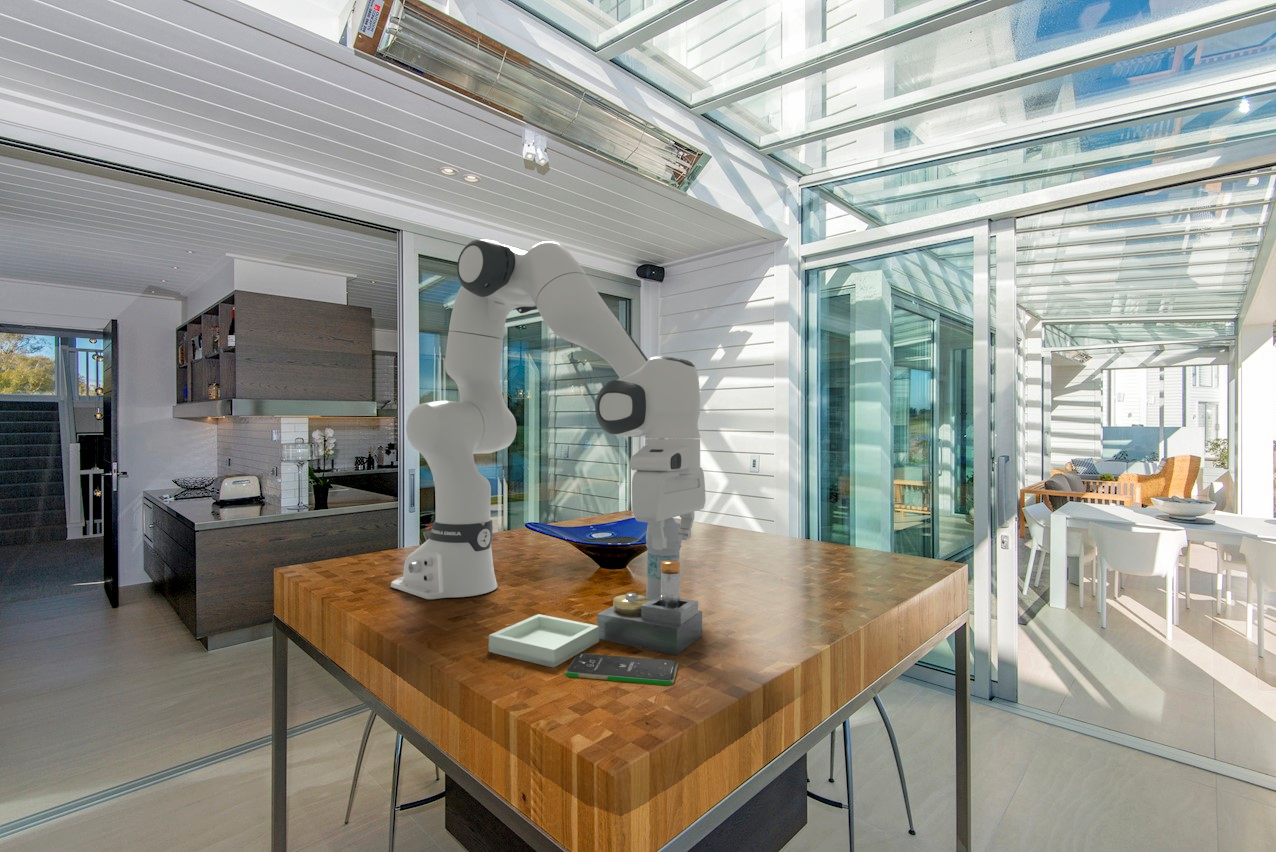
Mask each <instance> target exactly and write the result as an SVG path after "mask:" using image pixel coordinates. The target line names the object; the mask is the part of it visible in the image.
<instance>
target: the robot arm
mask: <svg viewBox="0 0 1276 852" xmlns="http://www.w3.org/2000/svg"><path fill="white" fill-rule="evenodd" d="M456 269H457V277H458V280H459V283H460V285H461V286H460V288H459V289H458V291H457V294H456V297H455V300H454V303H453V307H452V311H451V314H450V320H449V328H448V334H447V341H446V351H445V359H444V369H445V373H446V374H447V375H448V377H449V378H451V379H452V380H453V381H454V382H455V383H456V386H457V389H458V395H459V401H455V400H441V399H440V400H435V401H428V402H424V403H420V404H417V405H415V406H414V408H413V409H412V410H411V412H409V415H408V417H407V421H406V427H405V430H406V435H407V436H406V437H407V439H408V441H409V443H410V445H411V446H412V447H413V448H414V449H415V450H416V451H418V453H420V455H421V456H422V457H423V458H424V460H425V461H426V463H427V465H428V467H429V470H430V472H431V475H432V478H433V483H434V492H435V494H434V496H435V497H434V498H435V520H434V521H433V523H428V524H425V526H426V527H427V528H425V531H429V530H430V532H429V535H428V539H427V540H426V541H424V542H423V543H422V544H421V545H420V546H419V547H417V548H416V549H415V550H414V551H412V552H411V553H410V554H408V556H407V557H406V559H405V561H404V564H403V576H401V577H398V578H396V579H394V580H392V581H391V583H390V588H393V589H396V590H399V591H401V592H405V593H408V594H410V595H413V596H417V597H420V598H422V599H425V600H437V599H445V598H448V599H449V598H465V597H474V596H480V595H483V594H487V593H490V592H493V591H494V590H496V589H497V588H498V583H497V579H496V575H495V574H496V573H495V568H494V561H493V551H492V550H493V549H492V544H491V543H492V539H493V535H494V534H493V530H494V526H493V520H492V519H491V514H492V512H491V509H492V507H491V503H492V492H491V491H492V486H491V482H490V481H489V479H488V478H486V476H484V475H482V474H481V473H480V471H479V470H478V467H477V465H476V462H475V457H474V455H477V454H479V455H480V454H481V455H483V454H492V453H496V452H499V451H502V450H505V449H507V448H509V447H510V446H511V444H513V442H514V441H515V438H516V434H517V430H518V428H517V421H516V418H515V416H514V415H513V413H512V411H511V410H510V409H509V408H508V406H507V405H506V401H505V399H504V398H505V397H504V395H503V391H502V386H501V365H502V364H501V363H502V356H503V355H502V354H503V346H504V345H503V344H504V337H505V326H506V321H507V317H508V315H509V314H510V313H511V312H512V311H513V310H516V312H518V313H519V314H526V313H528V312H531V311H536V310H538V312H539V314H540V316H541V318H542V320H543V321H544V323H545V325H547V326H548V327H549V329H550V330H551V331H552V332H553V333H554V334H555V335H556V336H557V337H559V338H560V339H562V340H564V341H566V342H569V343H572V344H574V345H577V346H579V347H582V348H583V349H586V350H588V351H590V352H592V353H594V354H597V355H598V356H599V357H601V358H602V359H604V360H605V361H606V362H607V363H608V364H609V365H610V367H611V368H612V369H613V371H614V372H615V373H616V375H617V376H618V377H619V378H618V379H615V380H614V379H613V380H611V381H607V382H606V383H605V384H604V385H603V386H602V387H601V388H600V390H599V392H598V393H597V396H596V400H595V403H594V404H595V405H594V409H595V410H594V411H595V412H594V413H595V416H596V420H597V422H598V424H599V426H600V427H601V428H602V429H603V431H604V432H606V433H607V434H609V435H614V436H618V437H633V438H644V446H642V448H640V450H638V451H637V452H636V453H634V454H633V455H631V457H630V462H629V463H630V464H629V465H630V469H631V470H632V471H635V472H634V474H633V476H632V482H631V503H632V504H631V506H632V512H633V513H632V514H633V516H634V518H635V520H636V521H637V522H641V523H647V526H648V528H649V531H650V534H651V536H652V547H653V549H656V550H662V549H664V548H666V547H667V543H666V542H667V537H664V532H663V527H664V520H666V519H669V518H673V519H674V518H676V517H679V518H680V522H679V523H680V528H679V529H678V539H680V540H682V541H687V540H689V539H692V528H693V524H694V520H695V512H697V511H701V510H703V509H704V508H705V505H706V483H705V481H706V480H705V474H704V473H705V472H704V469H703V468H702V467H701V435H700V430H699V425H698V421H699V417H700V414H701V390H700V389H701V388H700V381H699V379H700V378H699V374H698V370H697V368H696V365H695V364H693V362H691V361H689V360H688V359H685V358H684V359H683V358H679V357H672V356H665V355H655V356H651V357H650V358H647V356H646V355H645V353H644V352H643V351H642V349H641V348H640V347H639V345H638V343H637V342H636V341H635V340H634V338H633V337H632V336H631V334H630V333H629V332H628V331H627V329H626V328H625V327H624V325H622V323H621V322H620V321H619V319H618V318H617V317H616V316H615V314H614V313H613V312H612V311H611V309H610V308H609V306H608V305H607V304H606V302H605V301H604V299H603V298H602V296H601V295H600V294H599V292H598V291H597V289H596V288H595V286H594V284H593V283H592V281H591V279H590V278H589V276H588V275H587V273H586V272H585V270H584V268H582V266H581V265H580V264H579V262H578V260H576V258H575V257H574V256H573V255H572V254H571V253H570V252H569V251H568V249H566V247H565V246H563V245H562V244H560V243H558V242H556V241H541V242H539V243H537V244H535V245H533V246H532V247H530V248H529V249H528V250H527V251H526V250H525V249H522V248H519V247H514V246H510V245H506V244H502V243H499V242H498V241H496V240H490V239H474V240H472V241H470V242H468V243H467V244H466V245H465V246H464V247H463V249H462V251H461V252H460V254H459V256H458V260H457V264H456Z"/></svg>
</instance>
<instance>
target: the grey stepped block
mask: <svg viewBox="0 0 1276 852" xmlns="http://www.w3.org/2000/svg"><path fill="white" fill-rule="evenodd" d="M596 615H597V617H596V618H597V619H596V625H597V626H599V640H602V641H604V642H605V641H606V642H611V643H615V644H616V643H617V644H620V645H625V646H629V647H635V648H640V649H644V650H649V651H654V652H659V653H662V654H663V653H664V654H668V655H673V656H677V655H679V654H680V653H681V652H683V651H684V650H685V649H687V648H688V647H689V646H691V645H692V644H693V643H694V642H695V641H697V640H698V639H699V638H701V637H702V636H703V611H702V610H699V601H698V600H692V599H686V598H681V597H680V604H679V608H678V609H674V608H668V607H662V606H661V595H660V596H658V597H656V598H654V599H652V600H651V601H650V599H649V598H648V597H646V595H645V596H644V595H642V594H638V593H636V592H627V593H625V594H621V595H617V596H615V597H614V598H613V601H612V606H610V607H609V608H606V609H604V610H602V611H600V612H598V613H597V614H596Z"/></svg>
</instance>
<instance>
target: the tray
mask: <svg viewBox="0 0 1276 852" xmlns="http://www.w3.org/2000/svg"><path fill="white" fill-rule="evenodd" d="M599 642H600V639H599V626H597V624H591V623H586V622H581V621H575V620H571V619H566V618H561V617H556V616H549V615H546V614H545V615H544V614H540V613H538V614H535V615H533V616H531V617H528V618H526V619H524V620H521V621H519V622H516V623H514V624H512V625H510V626H507V627H505V628H502V629H499V630H498V631H494V632H493V633H490V634H488V653H491V652H492V653H491V654H496V655H501V656H504V657H507V658H512V659H516V660H521V661H525V662H528V663H532V664H537V665H540V666H541V665H542V666H545V667H549V668H553V669H554V668H556V667H558V666H559V665H561V664H562V663H565V662H566V661H569V660H570V659H571V658H573V657H574V656H575V657H576V656H577V655H578V654H581V653H582V652H584V651H586V650H588V649H589V648H591V647H593V646H594V645H596V644H598V643H599Z"/></svg>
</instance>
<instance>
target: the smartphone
mask: <svg viewBox="0 0 1276 852" xmlns="http://www.w3.org/2000/svg"><path fill="white" fill-rule="evenodd" d="M678 667H679V665H678V662H677V661H676V660H671V659H660V658H648V657H647V658H646V657H637V656H636V657H634V656H622V655H611V654H610V655H609V654H606V655H605V654H599V653H598V654H597V653H582V652H581V653H579V654H577V655H575V657H574V659H573V660H572V661H571V663H570V664H569V666H568V667H567V668H566V670H565V674H564V675H565V676H566V677H568V678H576V679H577V678H578V679H579V678H582V679H594V680H603V681H612V682H613V681H614V682H625V683H634V684H635V683H636V684H647V685H649V684H650V685H657V686H658V685H661V686H671V685H673V684H674V683H675V679H676V676H677V671H678Z"/></svg>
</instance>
